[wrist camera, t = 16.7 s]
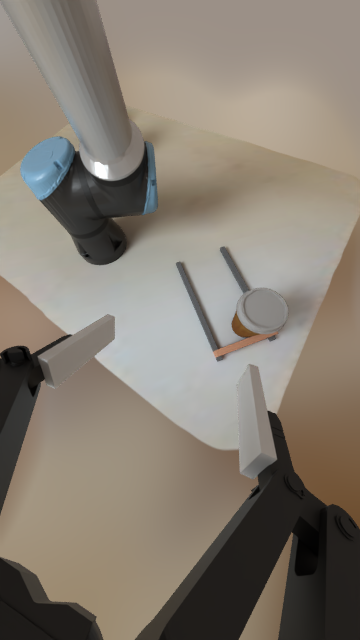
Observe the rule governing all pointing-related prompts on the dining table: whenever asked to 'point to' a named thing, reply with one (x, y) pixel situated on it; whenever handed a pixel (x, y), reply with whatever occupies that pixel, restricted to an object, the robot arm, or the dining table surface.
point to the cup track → (216, 351)
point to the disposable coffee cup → (259, 313)
